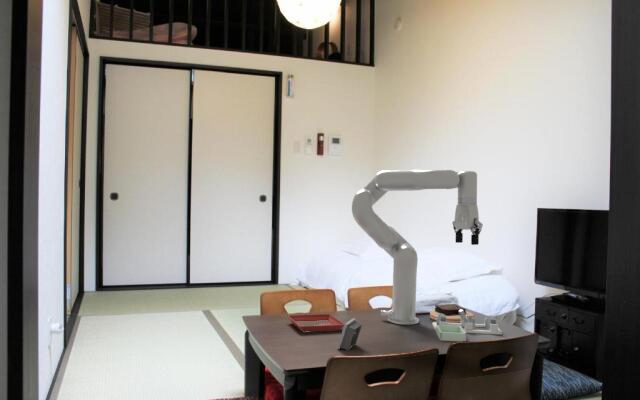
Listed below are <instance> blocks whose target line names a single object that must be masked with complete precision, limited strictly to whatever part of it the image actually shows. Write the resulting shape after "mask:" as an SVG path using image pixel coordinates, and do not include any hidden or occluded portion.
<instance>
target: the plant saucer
mask: <svg viewBox="0 0 640 400" xmlns="http://www.w3.org/2000/svg"><path fill="white" fill-rule="evenodd" d="M287 317H288V320H290V321H291V323H292V325H293V326H295V327H296V326H297V327H298V328H299V329H300V332H302V331H304V332H305V331H325V332H331V331H330V330H339V331H340V330H342V329H343V328H344V325H345V323H344V322H342V321H341V320H340V319H338V318H336V317H335V316H333V315H332V314H331V313H320V314H293V315H291V314H290V315H288V316H287ZM317 320H318V321H319V320H328V321H329V322H330V323H331V324H330V323H328V324H327V323H326V324H325V323H323V324H322V323H321V324H319V325H314V326H303V325H302V326H300V325H299V324H298V323H296V322H295V321H317ZM297 327H296V328H297ZM298 328H297V329H298ZM299 329H298V330H299Z"/></svg>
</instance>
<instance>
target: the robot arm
mask: <svg viewBox="0 0 640 400" xmlns="http://www.w3.org/2000/svg"><path fill="white" fill-rule="evenodd" d="M451 189H457V204H456V207H455V214H454V220H453V221H452V227H453V230H454V233H455V243H457V244H458V243H463V242H464V241H463V236H464V235H463V234H464V233H463V230H467V231H468V230H469V231H470V233H471V238H470V241H471V243H470V244H471V245H473V246H476V245H479V238H480V237H479V235H481V232H482V228H483V222H481V221H480V220H479V218H480V217H479V208H478V204H477V203H478V174H477V172H476V171H473V170H465V171H464V170H463V171H462V170H461V171H455V170H452V169H441V170H440V169H437V170H436V169H435V170H433V169H432V170H429V169H428V170H426V169H425V170H424V169H423V170H422V169H398V170H397V169H393V170H392V169H389V170H387V169H386V170H385V169H384V170H380V171H378V172H377V173H376V175H375V176H374V177H373V178H372V179H371V180H370V181H369V182H368V183H367V184H365V185H364V186H363V187H362V189H360V190H358V191H356V193H355V194H354V196H353V199H352V204H351V213H352V217H353V219H354V221H355V222H356V224H357V225H358V226H359V227H360V229H362V230H363V231H364V232H365V233H366V234H367V235H368V236H369V238H371V240H373V241H374V243H375V244H376V245H377V246H378V247H379V248H380V249H382V250H384V252H385V253H387V254H388V255H389V256H390V257H391V258H392V259H393V267H392V268H393V272H392V304H391V305H392V306H391V309H389V310H380V314H381V316H384V317H387V320H388V322H390V323H392V324H396V325H407V326H410V325H411V326H412V325H417V324H418V323H420V319H419V318H418V317H416V308H417V307H416V305H417V304H416V303H417V301H416V300H417V273H418V253H417V251H416V249H415V247H413V246H412V244H410V242H408V241H407V240H406V239H405V238H404V237H403V236H402V235H401V234H400V233H399V232H398V231H397V230H396V229H395V228H393V227H392V226H390V225H388V224H387V223H386V222H385V221H383V219H382V218H381V217H380V216H379V214H377V213H376V212H375V210H374V209H373V206H374V205H375V204H376V203H377V202H378V201H379V200H380V199H382V198H383V197H384V196H385V194H387V193H388V192H391V191H393V192H395V191H403V192H404V191H421V190H422V191H423V190H451Z"/></svg>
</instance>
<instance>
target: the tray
mask: <svg viewBox="0 0 640 400" xmlns="http://www.w3.org/2000/svg"><path fill="white" fill-rule="evenodd" d="M463 329H464V327H461V326H448V325H436V330H435V333H436V335H437V337H438V340H439V341H445V342H446V341H447V342H462V341H466V342H467V333H465V331H464V330H463Z"/></svg>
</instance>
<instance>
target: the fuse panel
mask: <svg viewBox="0 0 640 400" xmlns="http://www.w3.org/2000/svg"><path fill="white" fill-rule="evenodd" d="M466 318H467V316H466ZM431 324H432V326H433V329H434V330H435V331H436V325H438V315H436V321H432V323H431ZM440 325H448V326H461V327H462V328H463V330H464V331H465V333H466V334H483V335H486V334H487V335H503V331H502V330H501V329H500V328H499V324H498V323H496V324H490V331H488V329H487V328H486V327H487V317H485V318H484V323H479V324H478V323H475V328H486V330H484V329H473V323H465V329H464V320H461V319H460V322H448V321H446V322H443V321H440Z"/></svg>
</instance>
